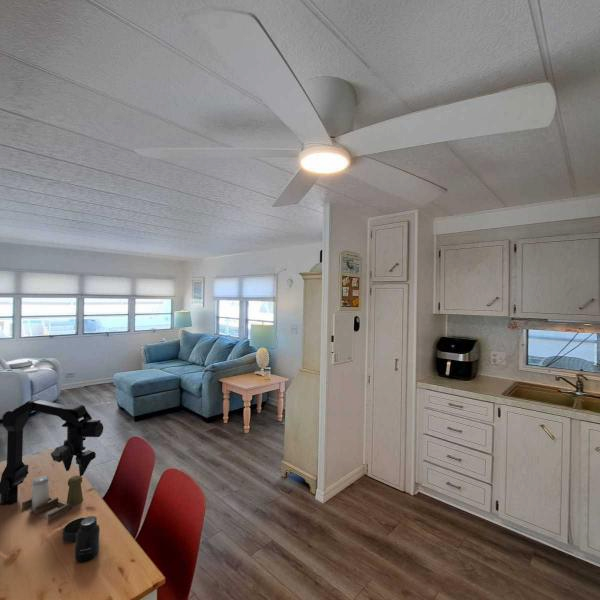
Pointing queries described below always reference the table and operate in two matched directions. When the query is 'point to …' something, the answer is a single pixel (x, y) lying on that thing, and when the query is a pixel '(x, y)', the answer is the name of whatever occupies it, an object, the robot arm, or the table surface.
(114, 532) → the table surface
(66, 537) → the black round bowl
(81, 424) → the robot arm
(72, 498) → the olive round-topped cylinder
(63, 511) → the walnut slot rack
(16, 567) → the table surface
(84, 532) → the supplement bottle
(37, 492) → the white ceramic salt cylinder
